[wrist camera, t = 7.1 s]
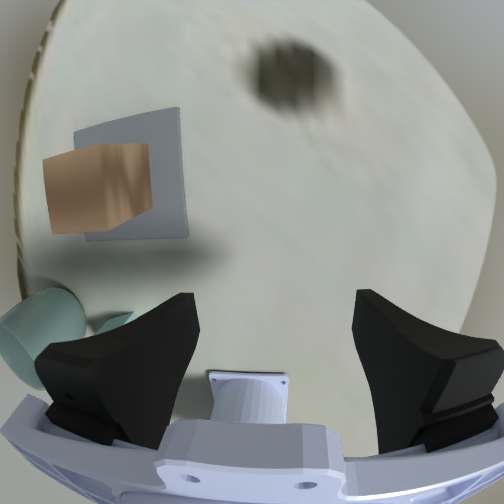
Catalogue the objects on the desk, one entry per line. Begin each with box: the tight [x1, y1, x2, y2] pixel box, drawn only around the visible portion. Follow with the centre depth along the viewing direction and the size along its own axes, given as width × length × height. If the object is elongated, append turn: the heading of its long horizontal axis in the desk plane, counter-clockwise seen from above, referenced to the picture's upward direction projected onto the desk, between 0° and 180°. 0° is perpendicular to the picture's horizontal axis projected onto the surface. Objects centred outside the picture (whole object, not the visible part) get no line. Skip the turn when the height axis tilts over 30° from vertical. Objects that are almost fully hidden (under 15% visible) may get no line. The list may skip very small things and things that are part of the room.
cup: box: [0, 287, 87, 391], centre depth 21 cm, size 8×8×10 cm
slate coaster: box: [74, 107, 189, 241], centre depth 20 cm, size 10×10×1 cm
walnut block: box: [43, 143, 153, 234], centre depth 17 cm, size 5×5×6 cm
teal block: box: [94, 312, 138, 335], centre depth 24 cm, size 4×4×4 cm
